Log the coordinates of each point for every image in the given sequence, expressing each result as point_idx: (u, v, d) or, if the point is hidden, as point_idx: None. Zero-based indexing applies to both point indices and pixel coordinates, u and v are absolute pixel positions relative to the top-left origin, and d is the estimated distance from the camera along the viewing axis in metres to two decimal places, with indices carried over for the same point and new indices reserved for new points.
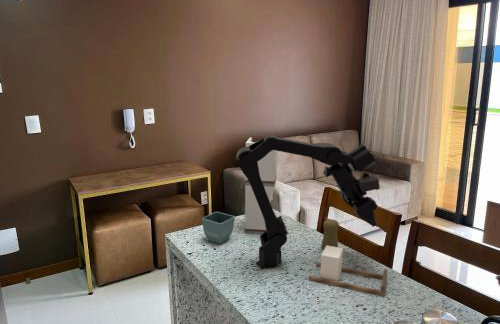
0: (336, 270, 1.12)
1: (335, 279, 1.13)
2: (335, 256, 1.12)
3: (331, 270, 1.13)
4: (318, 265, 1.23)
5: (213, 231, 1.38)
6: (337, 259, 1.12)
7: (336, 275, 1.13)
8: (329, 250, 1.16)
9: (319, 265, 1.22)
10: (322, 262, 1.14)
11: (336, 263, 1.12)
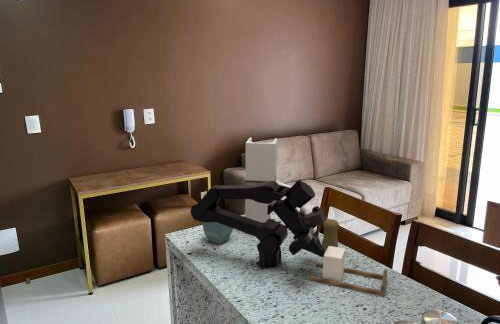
0: (338, 270, 1.12)
1: (337, 280, 1.13)
2: (337, 257, 1.12)
3: (333, 271, 1.13)
4: (318, 265, 1.23)
5: (213, 231, 1.38)
6: (340, 259, 1.11)
7: (338, 276, 1.13)
8: (331, 251, 1.16)
9: (319, 265, 1.22)
10: (324, 262, 1.13)
11: (338, 263, 1.12)
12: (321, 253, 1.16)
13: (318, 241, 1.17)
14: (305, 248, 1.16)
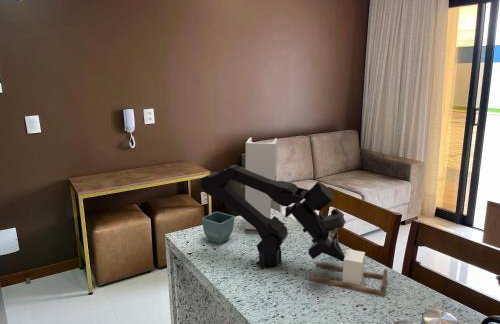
0: (359, 275, 1.10)
1: (358, 284, 1.11)
2: (358, 260, 1.10)
3: (353, 275, 1.11)
4: (318, 265, 1.23)
5: (213, 231, 1.38)
6: (360, 263, 1.09)
7: (359, 280, 1.10)
8: (351, 254, 1.14)
9: (319, 265, 1.22)
10: (344, 266, 1.11)
11: (359, 267, 1.10)
12: (340, 257, 1.14)
13: (337, 244, 1.15)
14: (324, 251, 1.14)
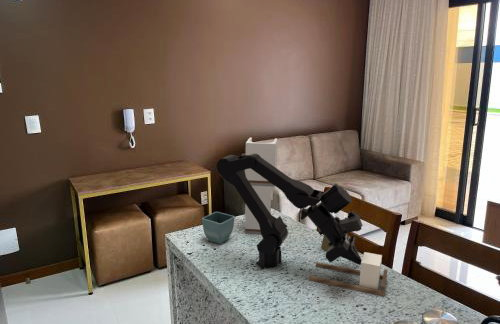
0: (377, 278, 1.08)
1: (375, 287, 1.09)
2: (375, 264, 1.08)
3: (371, 278, 1.09)
4: (318, 265, 1.23)
5: (213, 231, 1.38)
6: (378, 267, 1.07)
7: (377, 283, 1.09)
8: (368, 258, 1.12)
9: (319, 265, 1.22)
10: (362, 270, 1.09)
11: (377, 271, 1.08)
12: (357, 260, 1.12)
13: (354, 248, 1.13)
14: (341, 255, 1.12)
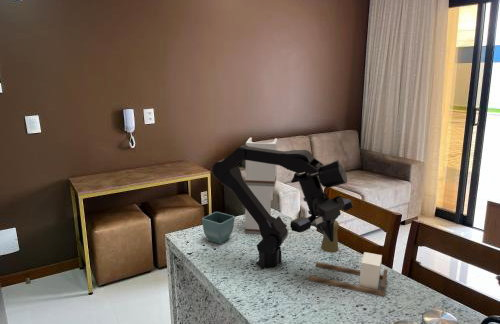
0: (377, 278, 1.08)
1: (375, 287, 1.09)
2: (375, 264, 1.08)
3: (371, 278, 1.09)
4: (318, 265, 1.23)
5: (213, 231, 1.38)
6: (378, 267, 1.07)
7: (377, 283, 1.09)
8: (368, 258, 1.12)
9: (319, 265, 1.22)
10: (362, 270, 1.09)
11: (377, 271, 1.08)
12: (327, 238, 1.14)
13: (329, 227, 1.13)
14: None
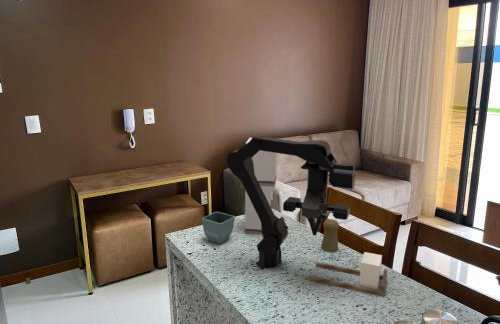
0: (377, 278, 1.08)
1: (375, 287, 1.09)
2: (375, 264, 1.08)
3: (371, 278, 1.09)
4: (318, 265, 1.23)
5: (213, 231, 1.38)
6: (378, 267, 1.07)
7: (377, 283, 1.09)
8: (368, 258, 1.12)
9: (319, 265, 1.22)
10: (362, 270, 1.09)
11: (377, 271, 1.08)
12: None
13: (315, 222, 1.14)
14: None
